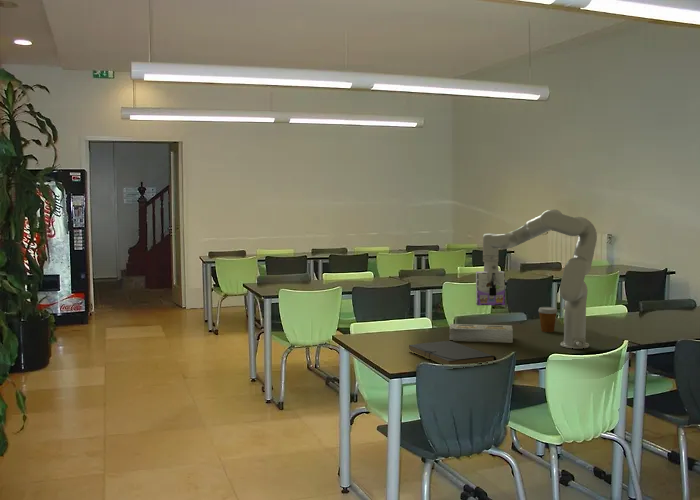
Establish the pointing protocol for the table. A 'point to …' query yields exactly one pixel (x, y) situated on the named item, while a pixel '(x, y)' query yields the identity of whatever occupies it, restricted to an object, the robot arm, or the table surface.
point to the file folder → (451, 352)
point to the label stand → (481, 333)
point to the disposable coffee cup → (547, 318)
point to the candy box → (484, 286)
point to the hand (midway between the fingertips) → (490, 294)
